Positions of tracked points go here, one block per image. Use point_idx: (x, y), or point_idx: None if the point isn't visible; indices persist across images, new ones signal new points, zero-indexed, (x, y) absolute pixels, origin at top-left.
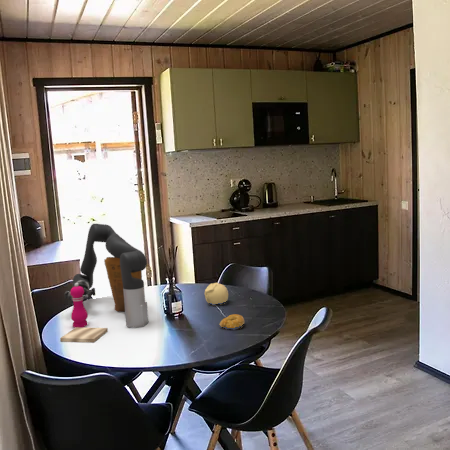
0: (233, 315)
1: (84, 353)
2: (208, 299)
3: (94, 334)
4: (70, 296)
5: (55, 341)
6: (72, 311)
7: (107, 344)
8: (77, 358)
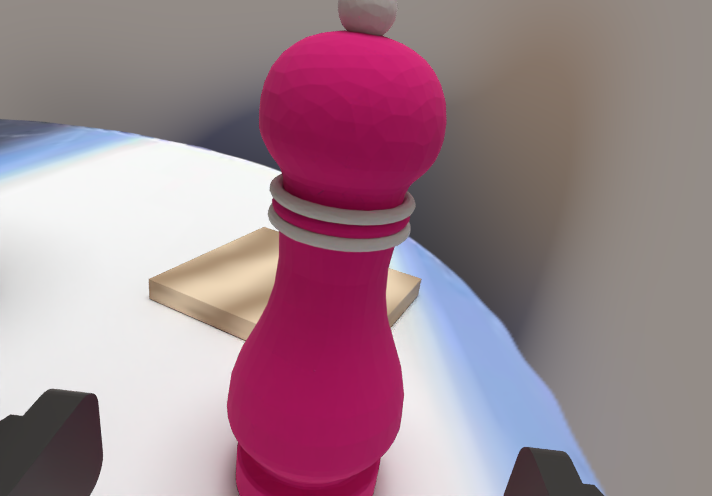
0: None
1: None
2: None
3: (248, 250)
4: (521, 452)
5: (446, 305)
6: (392, 336)
7: (216, 218)
8: None
